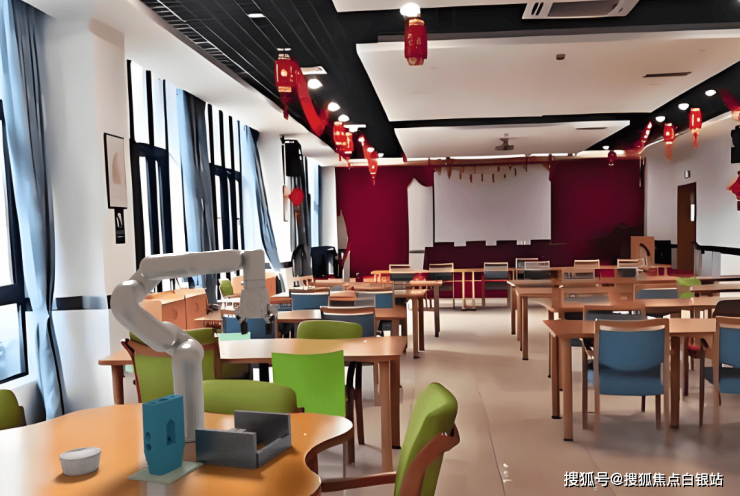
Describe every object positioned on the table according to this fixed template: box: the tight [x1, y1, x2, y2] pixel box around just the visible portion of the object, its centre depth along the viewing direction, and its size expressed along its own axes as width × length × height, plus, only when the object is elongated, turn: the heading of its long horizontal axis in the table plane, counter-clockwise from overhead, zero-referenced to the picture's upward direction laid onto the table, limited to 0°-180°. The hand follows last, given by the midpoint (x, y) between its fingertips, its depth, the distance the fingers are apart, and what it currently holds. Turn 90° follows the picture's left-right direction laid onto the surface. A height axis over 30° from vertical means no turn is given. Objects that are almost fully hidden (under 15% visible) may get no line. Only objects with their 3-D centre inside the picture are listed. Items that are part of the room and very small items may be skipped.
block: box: [141, 393, 186, 476], centre depth 177 cm, size 12×5×20 cm, turn 154°
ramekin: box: [58, 446, 102, 477], centre depth 181 cm, size 11×11×5 cm
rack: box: [194, 409, 292, 470], centre depth 190 cm, size 20×22×10 cm
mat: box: [127, 460, 204, 485], centre depth 177 cm, size 14×15×1 cm
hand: (256, 334), depth 213 cm, fingers open, 9 cm apart
